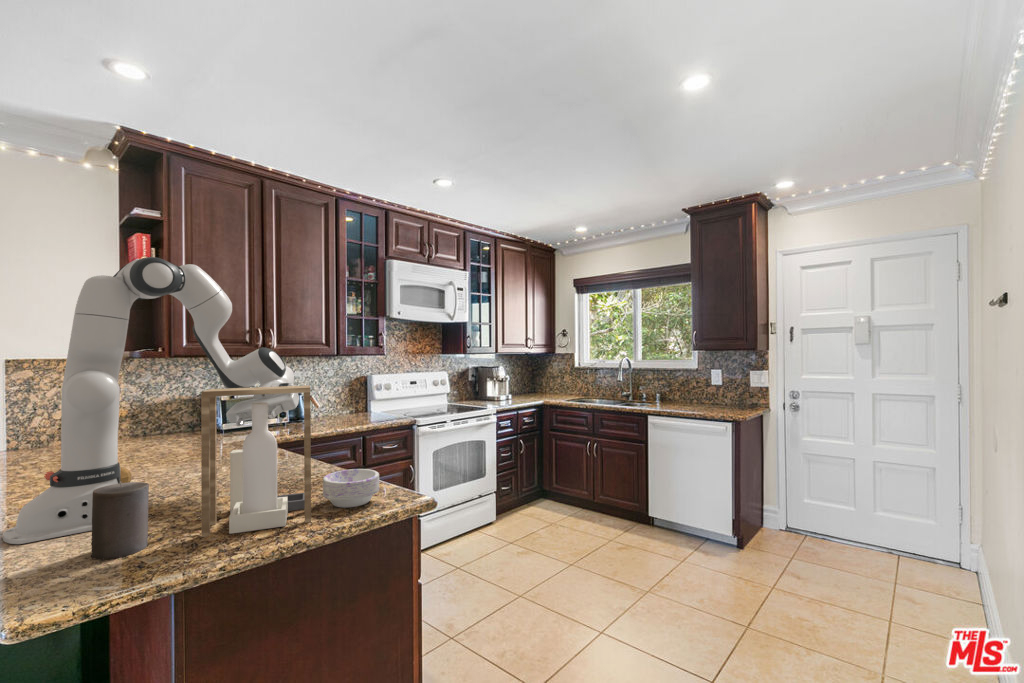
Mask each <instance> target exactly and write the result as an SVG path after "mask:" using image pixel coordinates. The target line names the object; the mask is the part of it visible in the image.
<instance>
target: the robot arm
mask: <svg viewBox="0 0 1024 683" xmlns="http://www.w3.org/2000/svg"><path fill="white" fill-rule="evenodd" d="M167 295H170V296H172V297H174V298H175V299H177V300H178V301H179V302H180V303H181V305H183V306H184V308H185V309H186V310H187V311H188V312H189V314H190V315H191V318H192V321H193V323H194V324H193V326H192V332H193V335H194V337H195V339H196V341H197V342H198V344H199V346H200V348H201V349H202V351H203V352H204V354H205V355H206V356H207V358H208V360H209V361H210V363H211V364H212V365H213V367H214V369H215V371H216V373H217V374H218V377H219V379H220V382H221V383H222V385H223V387H225V389H229V388H252V387H254V385H257V384H258V383H259V384H260V385H259V386H258V387H281V386H295V384H294V383H295V373H294V371H293V369H292V368H290V367H289V366H288V365H286V364H285V362H284V360H283V358H282V357H281V356H280V355H279V353H277V352H276V351H275V350H273V349H270V348H269V347H268V348H267V347H259V348H258V349H256V350H254V351H252V352H250V353H248V354H246V355H245V356H242V357H240V358H238V359H236V360H235V359H234V360H233V359H232V358H231V357H230V356H229V353H227V351H226V349H225V348H224V346H223V344H222V343H221V341H220V338H219V333H220V330H221V329H222V328H223V327H224V326H225V324H226V323H227V322H228V320H229V319H230V317H231V316H232V313H233V303H232V301H231V299H230V298H229V296H228V295H227V293H226V292H225V291H224V289H222V287H221V286H220V285H219V284H218V283H217V282H216V281H215V280H214V279H213V278H212V277H211V276H210V274H208V273H207V272H206V271H205V270H203V269H202V268H201V267H200V266H198V265H196V264H194V263H193V264H181V265H180V266H178V265H177V264H174V263H171V262H169V261H168V260H165V259H163V258H160V257H156V256H155V257H154V256H148V257H142V258H138V259H135V260H134V259H133V261H130V262H129V263H126V264H125V265H124V266H123V267H121V268H120V269H119V270H118V271H117V272H116V273H115V274H114V275H113V276H111V275H95V276H92V277H91V276H90V277H89V278H87V279H86V280H85V281H84V283H83V285H82V287H81V290H80V292H79V295H78V298H77V301H76V304H75V305H76V306H75V309H74V314H73V319H72V320H73V321H72V326H71V331H70V332H71V333H70V338H69V344H68V350H67V351H68V352H67V356H66V361H65V369H64V374H63V378H62V379H63V380H62V386H61V403H60V404H61V411H60V412H61V413H60V414H61V415H60V416H61V419H60V420H61V425H60V426H61V427H60V428H61V431H60V434H61V436H60V443H61V444H60V469H59V470H57V471H55V472H54V471H47V472H46V473H45V474H44V476H43V478H44V479H45V480H47V481H49V487H48V488H47V489H45V490H44V491H43V492H41V493H40V494H38V495H37V496H36V497H35V498H32V499H31V500H30V501H29V502H27V503H26V504H24V505H23V506H22V508H20V510H19V513H18V516H17V519H16V523H15V526H14V527H10V528H9V529H6V530H5V531H4V532H3V533H2V540H3V542H5V543H6V544H11V545H21V544H23V545H24V544H28V543H32V542H37V541H43V540H44V541H45V540H49V539H53V538H60V537H63V536H70V535H75V534H79V533H84V532H90V531H91V532H92V499H93V491H94V490H95V489H97V488H100V487H104V486H108V485H113V484H119V483H120V467H121V464H120V462H119V456H118V454H119V452H118V451H119V441H118V440H119V424H120V422H119V421H120V420H119V418H120V403H121V401H120V399H121V388H120V384H119V383H118V382H119V376H120V371H121V365H122V360H123V357H124V352H125V349H126V340H127V336H128V335H127V334H128V330H129V321H130V314H131V309H132V306H133V304H134V302H136V301H138V300H139V301H140V300H150V299H151V300H152V299H157V298H161V297H163V296H167ZM252 396H253V398H250V399H246V400H245V399H244V400H241V401H238V402H236V403H235V404H234V405H233V406H230V408H229V409H228V411H226V414H225V416H226V418H227V420H228V422H229V423H230V424H235V425H236V427H242V426H244V424H245V421H248V420H252V411H251V408H252V404H253V403H262V402H266V403H268V408H269V409H268V420H269V419H270V420H273V419H275V418H276V417H277V416H278V415H280V414H281V413H283V412H287V411H292V410H295V409H296V408H297V406H298V405H299V403H300V396H299V393H281V394H258V395H252Z"/></svg>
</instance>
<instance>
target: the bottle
mask: <svg viewBox="0 0 1024 683" xmlns="http://www.w3.org/2000/svg"><path fill="white" fill-rule="evenodd" d="M268 409H269V408H268V403H266V402H262V403H253V404H252V408H251V411H252V419H251V432H249V434H248V435H247V436H245V438H244V440H243V444H242V450H243V512H242V514H245V513H253V512H261V511H269V510H276V509H278V507H277V496H278V442H277V439H276V437H275V435H274V434H273V433H272V432H271V431H270V430H269V417H268Z"/></svg>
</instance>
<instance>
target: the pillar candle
mask: <svg viewBox="0 0 1024 683" xmlns="http://www.w3.org/2000/svg"><path fill="white" fill-rule="evenodd" d="M149 486H150V484H149V483H148V482H142V481H130V482H129V483H121V481H120V484H113V485H108V486H104V487H100V488H97V489H95V490H94V491H93V499H92V530H91V539H90V540H91V543H90V546H91V555H90V558H92V559H94V560H98V561H99V560H112V559H117V558H123V557H126V556H130V555H132V554H137V553H138V552H141V551H143V550H145V549H146V548H147V547H148V543H149V542H148V540H149V539H148V537H149V494H150V493H149V489H150V488H149Z"/></svg>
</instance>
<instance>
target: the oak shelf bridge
mask: <svg viewBox="0 0 1024 683" xmlns="http://www.w3.org/2000/svg"><path fill="white" fill-rule="evenodd" d="M281 393H298V394H301V393H303V449H304V450H303V452H304V453H303V459H304V460H303V462H304V463H303V464H304V465H303V466H304V468H303V471H304V473H303V474H304V478H303V479H304V482H303V485H304V490H303V491H304V492H303V493H304V494H305V509H304V523H305V524H306V523H307V524H308V523H312V462H311V461H312V459H311V457H312V456H311V455H312V453H311V452H312V448H311V446H312V445H311V442H312V440H311V439H312V438H311V435H312V434H311V433H312V432H311V428H312V427H311V420H312V419H311V418H312V417H311V385H310V384H309V385H294V386H281V387H259V386H258V387H250V388H229V389H227V388H209V389H206V390H203V391H201V392H200V394H201V395H200V396H201V398H200V399H201V401H200V402H201V409H200V410H201V413H200V414H201V416H200V417H201V425H200V427H201V429H200V432H201V433H200V434H201V437H200V438H201V442H200V443H201V444H200V445H201V449H200V451H201V453H200V455H201V468H200V470H201V471H200V472H201V475H200V476H201V478H200V479H201V480H200V481H201V485H200V486H201V495H200V496H201V497H200V498H201V499H200V500H201V503H200V504H201V509H200V511H201V513H200V514H201V517H200V519H201V520H200V521H201V523H200V524H201V530H200V531H201V532H200V533H201V537H200V538H207V537H210V535H211V526H214V525H217V520H218V519H217V509H218V508H217V397H231V396H233V397H234V396H254V395H258V394H281Z"/></svg>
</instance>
